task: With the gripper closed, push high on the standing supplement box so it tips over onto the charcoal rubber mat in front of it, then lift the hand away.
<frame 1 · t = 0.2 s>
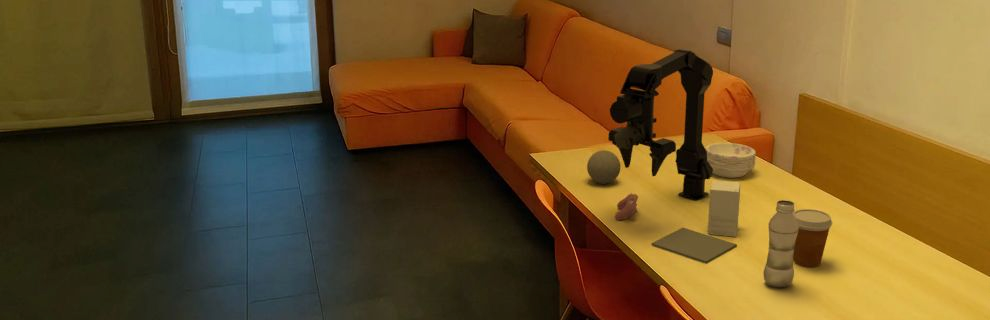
hand: (640, 171, 238), 14 cm above the table, fingers open, 9 cm apart
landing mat: (693, 245, 227), on the table
disposable coffee cup: (806, 262, 218), on the table
decorative ball: (603, 183, 273), on the table
plastic bottle: (777, 285, 206), on the table
video game controller: (626, 215, 248), on the table
paper bowls: (728, 173, 279), on the table
supplement box: (722, 231, 236), on the table
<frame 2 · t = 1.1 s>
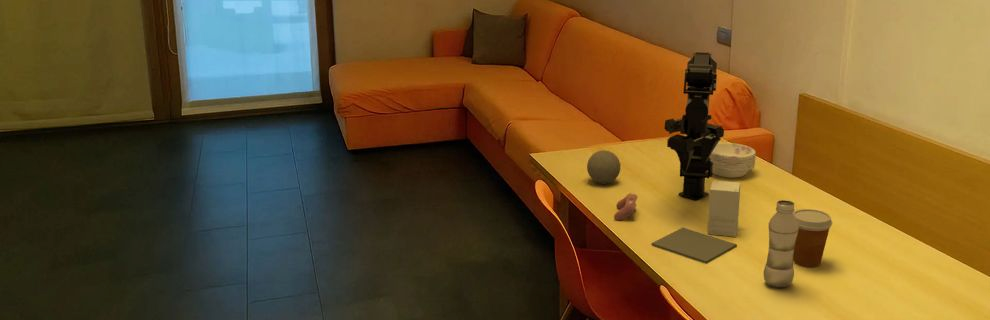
hand: (694, 166, 245), 13 cm above the table, fingers open, 9 cm apart
nothing on the table moved.
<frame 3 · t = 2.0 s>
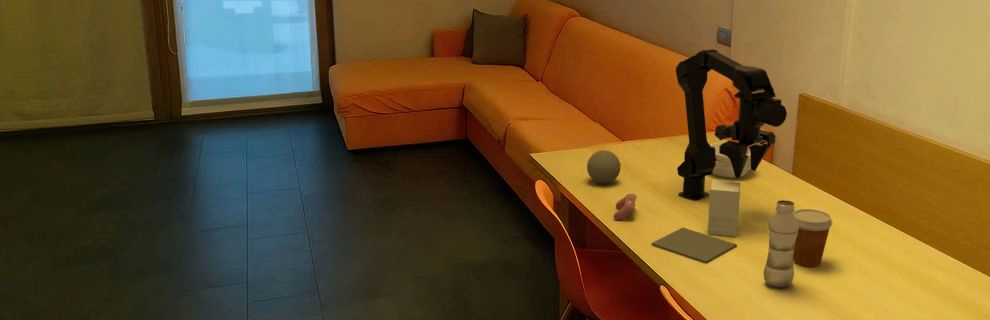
hand: (745, 174, 239), 13 cm above the table, fingers open, 8 cm apart
nothing on the table moved.
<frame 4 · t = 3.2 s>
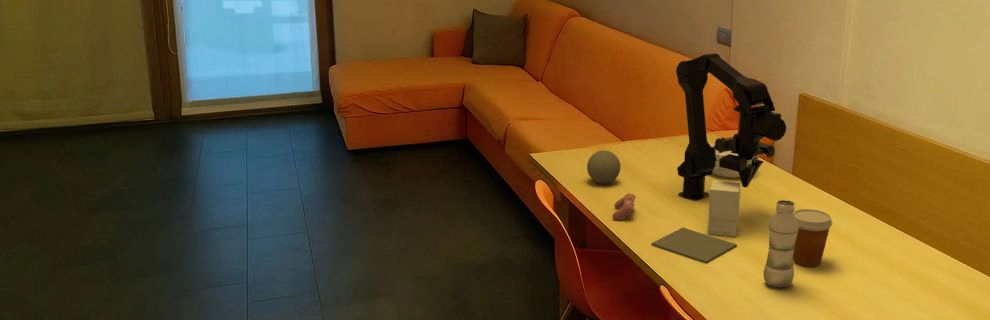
hand: (744, 186, 240), 10 cm above the table, fingers closed
nothing on the table moved.
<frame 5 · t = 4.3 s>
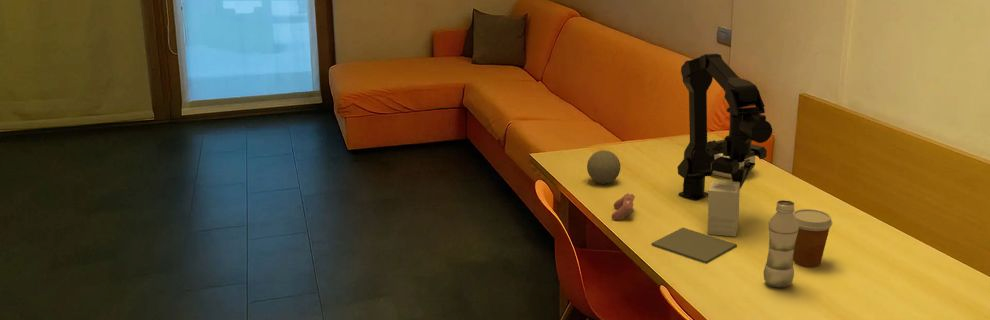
hand: (737, 189, 237), 10 cm above the table, fingers closed
supplement box: (722, 230, 236), on the table, touching gripper
everything else where it was.
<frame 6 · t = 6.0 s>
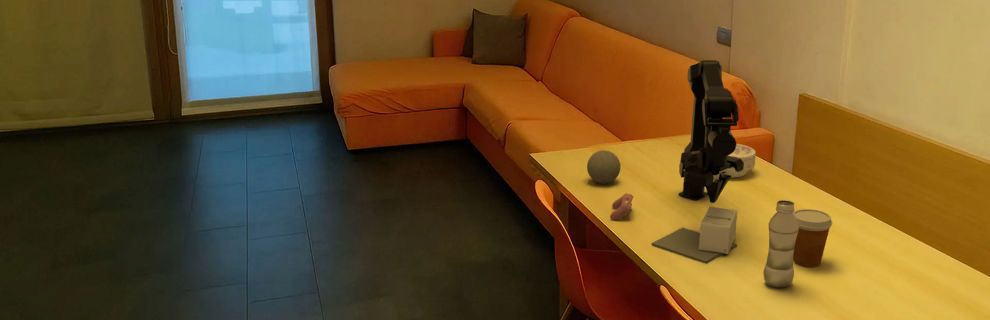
hand: (712, 202, 229), 10 cm above the table, fingers closed
supplement box: (722, 220, 232), point 4 cm above the table, touching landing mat
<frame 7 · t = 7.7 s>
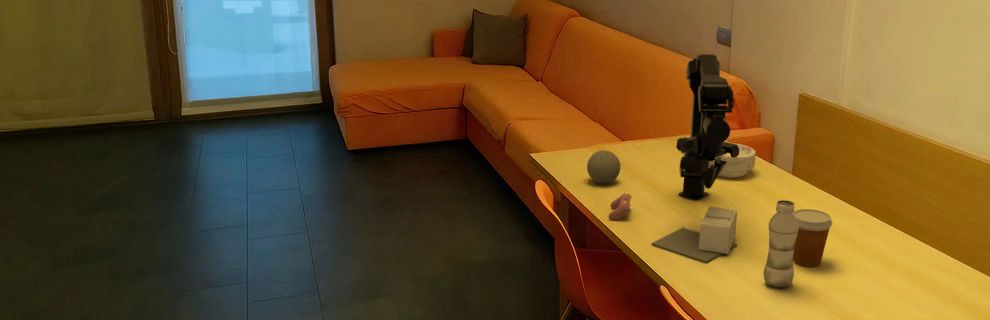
hand: (708, 188, 231), 12 cm above the table, fingers closed
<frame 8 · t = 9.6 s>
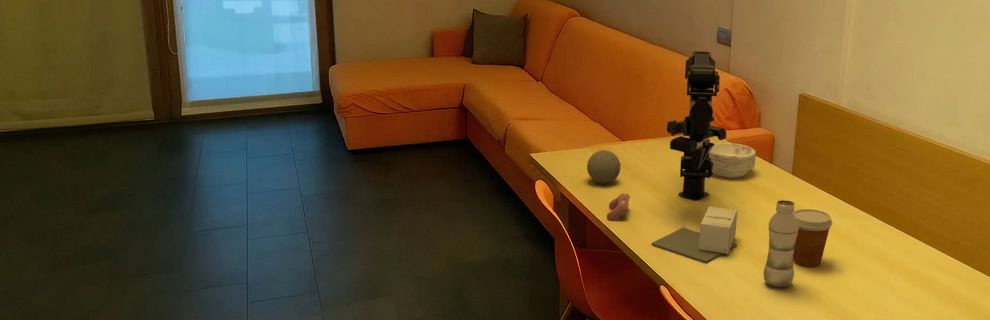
hand: (696, 169, 244), 13 cm above the table, fingers closed
at the end: supplement box tilted 90°; supplement box touching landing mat; supplement box inside the target area (3.2 cm from its centre), point 4.3 cm above the table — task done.
